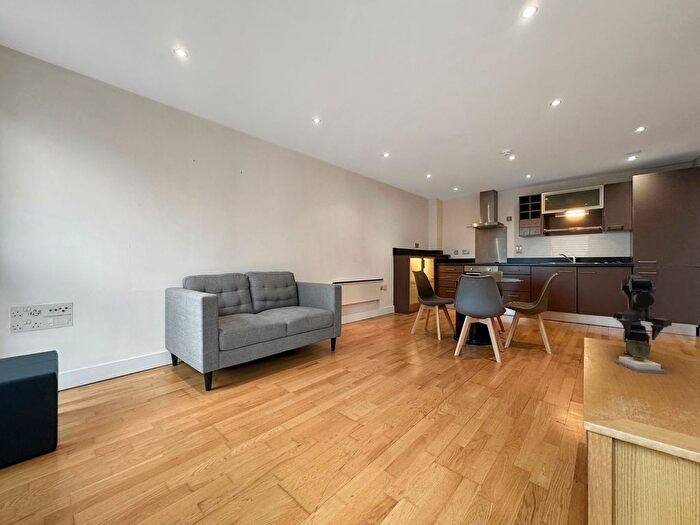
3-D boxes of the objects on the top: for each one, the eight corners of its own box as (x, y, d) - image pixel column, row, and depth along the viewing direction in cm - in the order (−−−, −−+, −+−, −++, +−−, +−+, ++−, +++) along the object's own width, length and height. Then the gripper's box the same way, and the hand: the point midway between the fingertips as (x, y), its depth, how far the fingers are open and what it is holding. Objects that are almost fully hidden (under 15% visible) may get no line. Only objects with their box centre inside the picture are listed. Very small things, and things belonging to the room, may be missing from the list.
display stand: (613, 362, 127) (613, 355, 127) (639, 363, 126) (639, 356, 126) (638, 372, 115) (638, 364, 115) (667, 373, 114) (667, 366, 114)
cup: (639, 357, 124) (639, 340, 124) (656, 363, 117) (656, 345, 117) (622, 357, 125) (622, 339, 125) (637, 362, 118) (637, 344, 118)
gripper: (604, 301, 134) (604, 333, 134) (655, 307, 116) (654, 343, 116) (621, 301, 137) (620, 332, 137) (672, 307, 119) (672, 342, 119)
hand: (640, 337), depth 127 cm, fingers open, 9 cm apart
